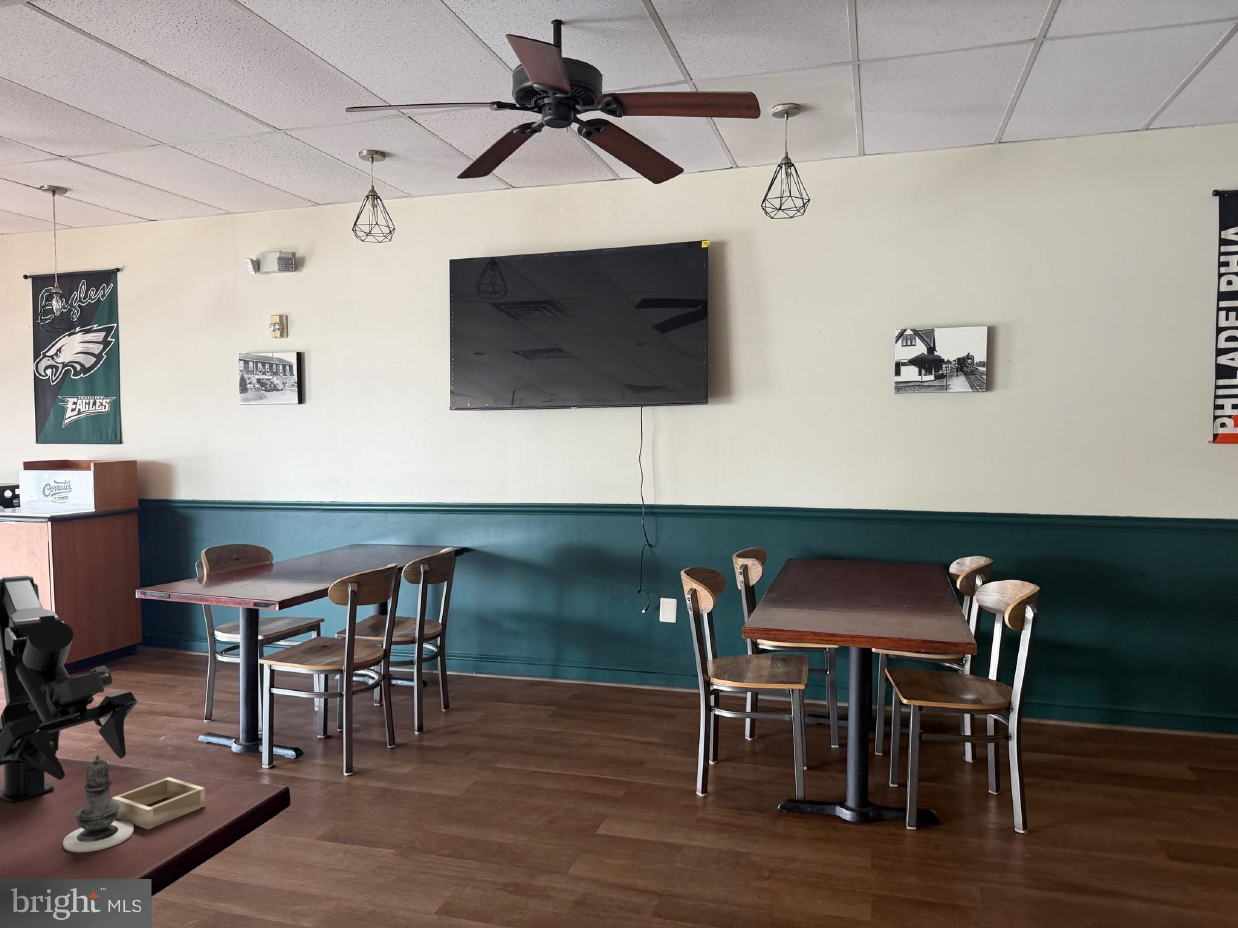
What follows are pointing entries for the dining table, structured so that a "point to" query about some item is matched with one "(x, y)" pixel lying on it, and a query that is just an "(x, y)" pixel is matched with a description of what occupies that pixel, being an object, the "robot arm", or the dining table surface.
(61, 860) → the dining table surface
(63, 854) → the dining table surface
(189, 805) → the birch holder
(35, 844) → the dining table surface
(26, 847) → the dining table surface
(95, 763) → the grey tall domed piece
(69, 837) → the coaster
